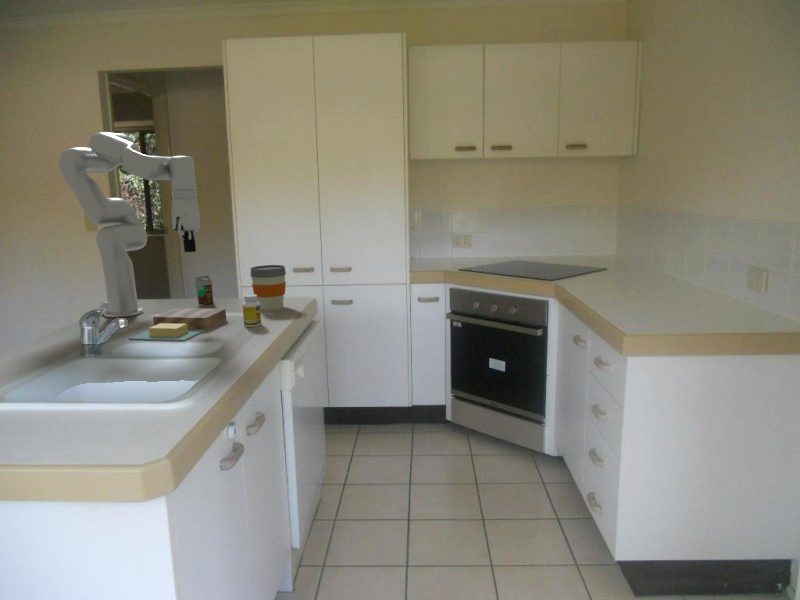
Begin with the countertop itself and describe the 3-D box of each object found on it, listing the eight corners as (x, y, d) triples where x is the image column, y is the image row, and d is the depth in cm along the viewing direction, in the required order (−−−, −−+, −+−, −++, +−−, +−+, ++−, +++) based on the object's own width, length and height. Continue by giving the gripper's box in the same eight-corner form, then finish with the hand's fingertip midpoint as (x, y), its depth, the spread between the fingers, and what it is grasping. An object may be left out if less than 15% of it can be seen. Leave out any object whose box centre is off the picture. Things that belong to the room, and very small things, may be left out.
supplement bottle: (259, 327, 178) (257, 296, 177) (242, 327, 178) (239, 297, 176) (262, 323, 184) (260, 293, 182) (246, 323, 184) (243, 294, 182)
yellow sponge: (160, 323, 174) (160, 331, 175) (148, 328, 168) (149, 336, 169) (187, 323, 173) (187, 331, 173) (176, 328, 167) (177, 336, 168)
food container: (194, 301, 223) (192, 276, 221) (210, 299, 225) (208, 275, 223) (196, 307, 211) (194, 280, 209) (213, 305, 214) (211, 279, 212)
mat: (129, 339, 167) (128, 338, 167) (153, 329, 179) (153, 328, 179) (184, 341, 164) (184, 339, 164) (205, 330, 176) (205, 329, 175)
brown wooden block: (154, 329, 179) (153, 316, 178) (177, 319, 192) (176, 308, 191) (206, 330, 176) (205, 317, 175) (226, 320, 188) (225, 308, 188)
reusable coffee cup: (295, 305, 210) (292, 265, 207) (272, 312, 199) (269, 270, 196) (268, 303, 215) (266, 264, 212) (245, 309, 204) (242, 268, 201)
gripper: (186, 195, 191) (192, 249, 194) (160, 196, 176) (166, 254, 180) (207, 194, 189) (212, 249, 193) (182, 195, 175) (188, 254, 179)
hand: (190, 251), depth 186 cm, fingers closed
